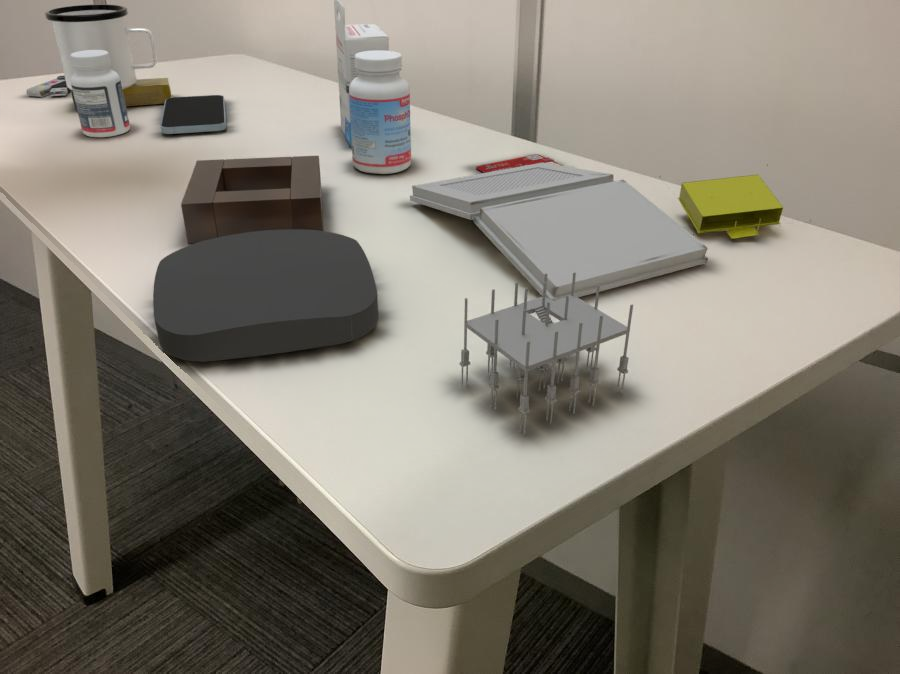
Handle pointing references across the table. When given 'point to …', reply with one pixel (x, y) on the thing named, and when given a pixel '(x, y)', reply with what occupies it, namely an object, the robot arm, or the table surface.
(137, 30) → the mug
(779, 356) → the table surface
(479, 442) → the table surface
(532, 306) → the building frame
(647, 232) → the gadget
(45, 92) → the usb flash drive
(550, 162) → the card
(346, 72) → the ink box
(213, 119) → the smartphone
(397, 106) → the pill bottle
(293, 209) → the holder
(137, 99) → the medication box
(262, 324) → the media streaming box
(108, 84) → the pill bottle
